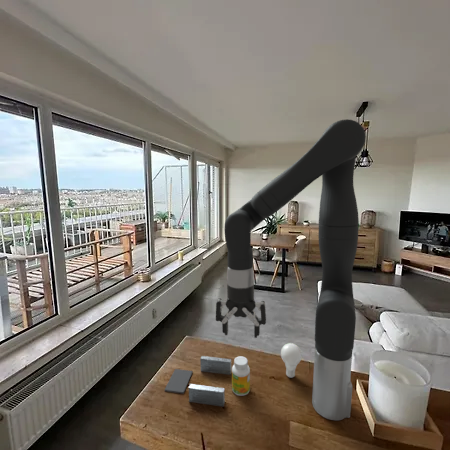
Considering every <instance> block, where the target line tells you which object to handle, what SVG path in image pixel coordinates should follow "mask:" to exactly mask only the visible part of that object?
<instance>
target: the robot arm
mask: <svg viewBox="0 0 450 450" xmlns="http://www.w3.org/2000/svg"><path fill="white" fill-rule="evenodd" d="M365 143H366V131H365V129H364V127H363V125H361V123H360V122H358V121H357V120H353V119H340V120H337V121H335V122H333V123H331V124H330V125H328V127H327V128H326V129H325V130H324V132H323V133H322V135H321V136H320V137H319V138H318V140H317V141H316V142H315V143H314V144H313V146H311V147H310V149H308V151H307V152H305V153H304V154H303V155H302V156H301V157H299V159H298V160H297V161H295V162H294V163H293V164H291V166H289V167H287V169H285V170H284V171H282V172H281V173H279V175H277V176H276V177H275V178H273V179H272V180H270V181H269V182H267V184H266V185H264V186H263V187H262V188H261V189H259V191H257V192H256V193H255V194H254V195H253V196H252V197H251V199H249V201H247V202H246V203H244V204H243V205H242V206H241V207H240V208H238V209H237V210H235V211H233V212H231V213H230V214H229V215H227V217H226V218H225V221H224V227H223V228H224V239H225V244H226V250H227V269H226V290H227V293H226V296H227V299H226V300H224V299H222V298H218V299H217V301H216V303H215V321H216V322H220V323H221V324H222V327H221V328H222V333H223V334H224V336H228V334H229V320H230V319H231V318H232V317H233V316H234V317H235V318H239V317H241V318H245V319H246V318H248V319H249V320H250V321H251V322H252V323H253V324H254V329H253V331H254V332H253V334H254V335H253V336H254V337H253V338H258V337H259V336H260V331H261V330H260V326H261V325H263V326H264V325H266V324H267V314H266V312H267V310H266V301H264V300H261V301H260V302H257V301H255V273H254V251H253V249H252V246H251V245H252V243H251V242H252V241H251V240H252V239H251V236H252V235H251V232H252V231H253V230H254V229H255V228H256V227H257V226H258V225H260V224H261V223H262V222H263V221H264V220H266V219H267V218H270V217H271V216H273V215H274V214H276V213H277V212H279V210H281V209H282V208H283V207H285V206H286V205H287V204H289V203H290V202H291V201H292V200H293V199H294V198H296V197H297V196H298V195H299V194H301V192H302V191H304V190H305V189H306V188H307V187H308V186H309V185H311V184H313V182H314V181H316V180H317V179H319V178H320V177H322V179H321V181H322V182H321V183H322V185H321V194H320V201H319V213H318V214H319V215H318V247H319V248H318V249H319V255H320V260H321V267H322V278H321V286H320V292H319V296H318V300H317V305H316V310H315V321H314V324H315V326H314V358H313V359H314V360H313V361H314V362H313V379H312V396H311V398H312V399H311V403H312V407H313V408H314V410H315V412H316V413H317V414H319V415H320V416H321V417H323V418H325V419H327V420H331V421H341V420H343V419H347V418H350V417H351V411H352V395H353V384H352V381H351V375H352V361H353V360H352V359H353V350H354V343H355V337H356V336H355V335H356V334H355V333H356V321H357V317H356V303H355V299H354V291H353V290H354V287H353V269H354V268H353V267H354V264H355V259H356V255H357V250H358V242H359V208H358V204H357V198H356V194H355V185H354V173H355V172H354V171H355V164H356V158H357V156H358V155H359V153H361V151H362V150H363V148H364V146H365ZM224 307H226V308H227V312H226V313H225V314H224V315H222V309H223V308H224ZM256 308H257V310H258V311H260V318H259V316H258V315H257V314H256V312H255V311H254V310H255V309H256Z"/></svg>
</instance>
